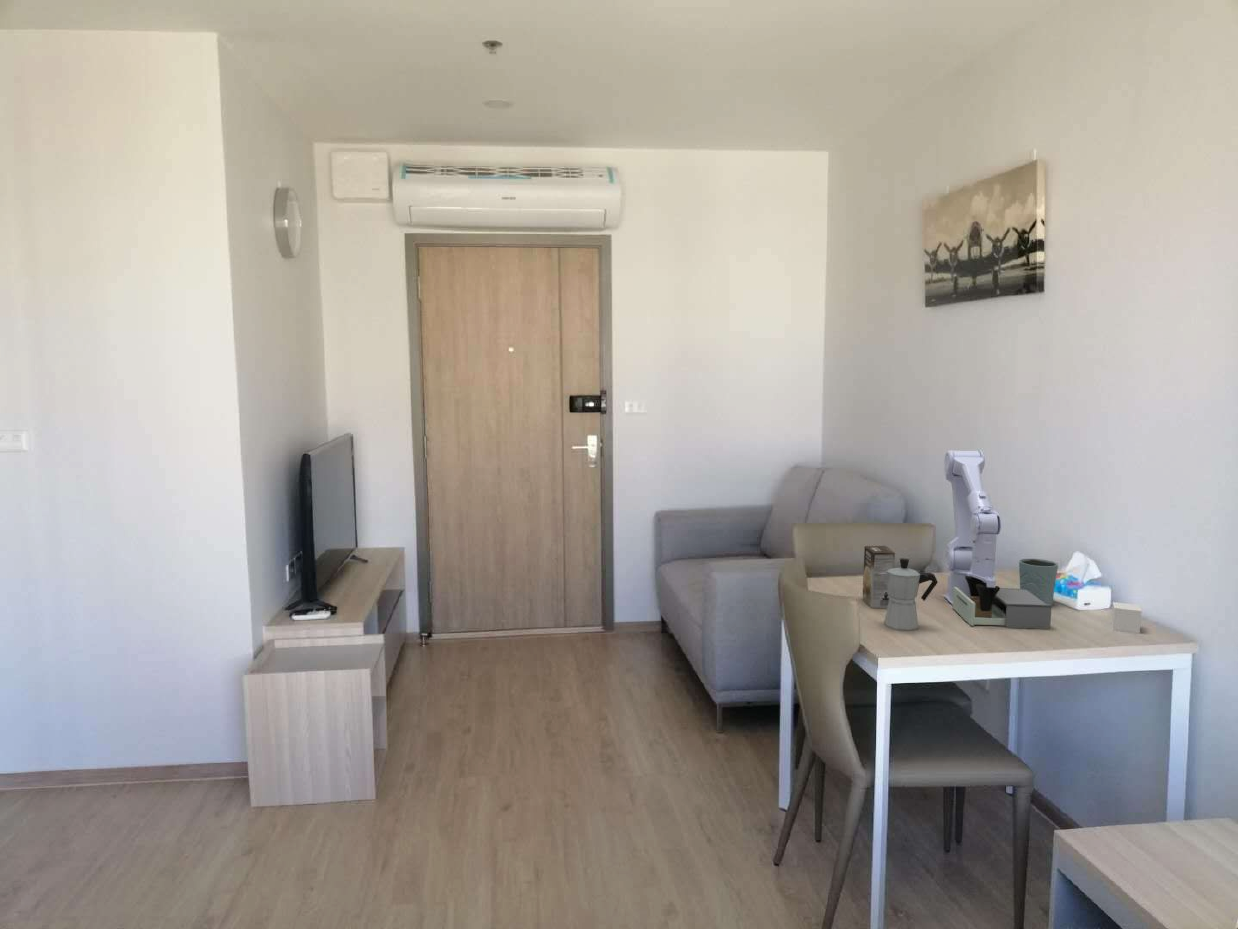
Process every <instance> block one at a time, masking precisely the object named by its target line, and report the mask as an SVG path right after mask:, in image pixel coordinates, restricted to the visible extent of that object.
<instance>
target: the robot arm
mask: <svg viewBox="0 0 1238 929" xmlns="http://www.w3.org/2000/svg"><path fill="white" fill-rule="evenodd" d="M943 461H944V464H943V465H944V476H945V480H946V481H948V482H950V483H951V488H952V500H953V501H952V504H953V518H954V534H955V537H954V539H952V540H951V541H950V542H948V543H947V544H946V547H945V557H944V563H945V567H946V569H947V570H948V571H950V572H948V575H947V586H946V594H943V597H944V598H945V599H946V600H947V601H948V602H949V603H950V604H951V605H952V606H953V592H954V587H957V588H958V589H959V590H961V591H962V592H963V593H964V594H965V595H966V596H968V597H969V596H975V597H980V608H981V610H982V611H990V609H991V606H992V603H993V600H994V598H995V596H996V594H997V593H998V591H999V590H1000V588H1001V587H1000V586H998V585H996V583H997V580H996V574H995V566H996V565H995V564H996V549H997V548H996V547H997V536H998V535H999V534H1000V532H1001V530H1002V529H1001V528H1002V522H1001V516H1000V514H999V513H998V512H997V511H996V510H994V508H993V505H992V501H991V497H990V495H989V493H988V492H987V491H984V486H983V481H982V473H983V470H984V468H985V465H986V462H985V461H986V457H985V455H984V453H983V451H982V450H980V449H979V450H952V449H949V450H947V451H946V452H945V456H944V460H943Z"/></svg>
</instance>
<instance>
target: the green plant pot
mask: <svg viewBox="0 0 1238 929" xmlns="http://www.w3.org/2000/svg"><path fill="white" fill-rule="evenodd" d="M1018 568H1019V572H1018V573H1019V589H1028V590H1030V591H1031V592H1033V593H1034V594H1035V595H1037V596H1038V597H1040V598H1041V599H1043V600H1044V601H1046V602H1047V603H1049V604H1050V605H1051V606H1053V605H1054V596H1055V594H1054V593H1055V588H1056V586H1055V585H1056V579H1057V575H1058V569H1059V563H1057V562H1055V561H1052V560H1047V559H1042V558H1041V559H1040V558H1022V559H1020V560H1018Z"/></svg>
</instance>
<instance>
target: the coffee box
mask: <svg viewBox="0 0 1238 929" xmlns="http://www.w3.org/2000/svg"><path fill="white" fill-rule="evenodd" d="M863 551H864V552H863V554H864V555H863V578H862V579H863V580H862V600H863V602H865V603H866V604H867V605H868V606H869V607H870V608H871V609H887V608H888V603H889V599H890V596H889V595H888V588H887V586H886V584H885V582H884V580H883V578H882V576H881V575H880V574H879V573H882V572H886V571H888V570H889V569H892V568H895V562H896V552H895V551H893V550H892V549H890V548H889V547H888V546H886V545H865V546H864V550H863Z"/></svg>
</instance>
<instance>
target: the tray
mask: <svg viewBox="0 0 1238 929" xmlns="http://www.w3.org/2000/svg"><path fill="white" fill-rule="evenodd" d="M952 609H953V610H955V612H957V614H958V615H959V616H960V617H961V618H962V619H964V620H965V621H966V622H967V623H968V624H969V625H970V626H973V627H974V626H975V625H980V626H981V625H983V626H1005V622H1006V611H1002V610H1001V609H1000V608H999V607H997V606H996V605H995V604H992V618H978V617H975V603H974V602H973V601H972V600H971V599H970V598H969V597H968V596H966V595H965V594H964V593H963V592H962V591H961V590H959V589H958V588H957V587H954V592H953V605H952Z"/></svg>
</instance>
